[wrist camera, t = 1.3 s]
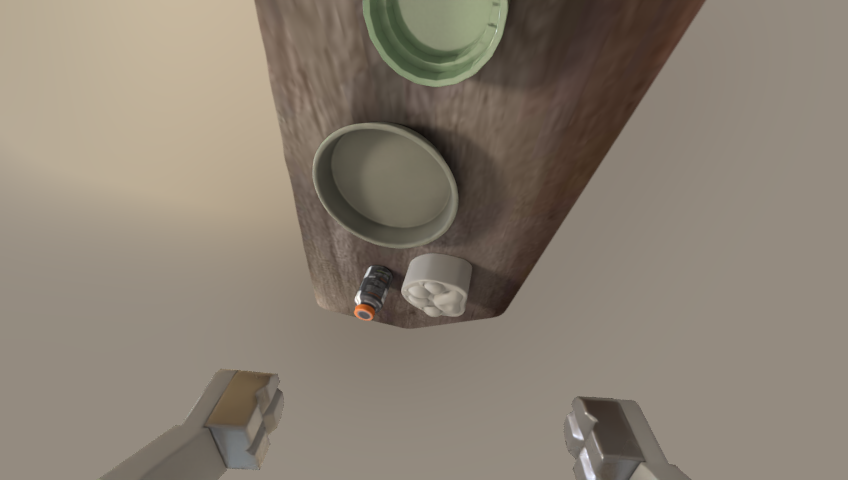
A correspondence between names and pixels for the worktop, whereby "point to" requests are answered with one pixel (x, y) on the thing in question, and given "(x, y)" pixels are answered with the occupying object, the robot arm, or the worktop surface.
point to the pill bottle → (372, 292)
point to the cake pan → (385, 184)
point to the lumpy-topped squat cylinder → (438, 284)
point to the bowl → (436, 36)
